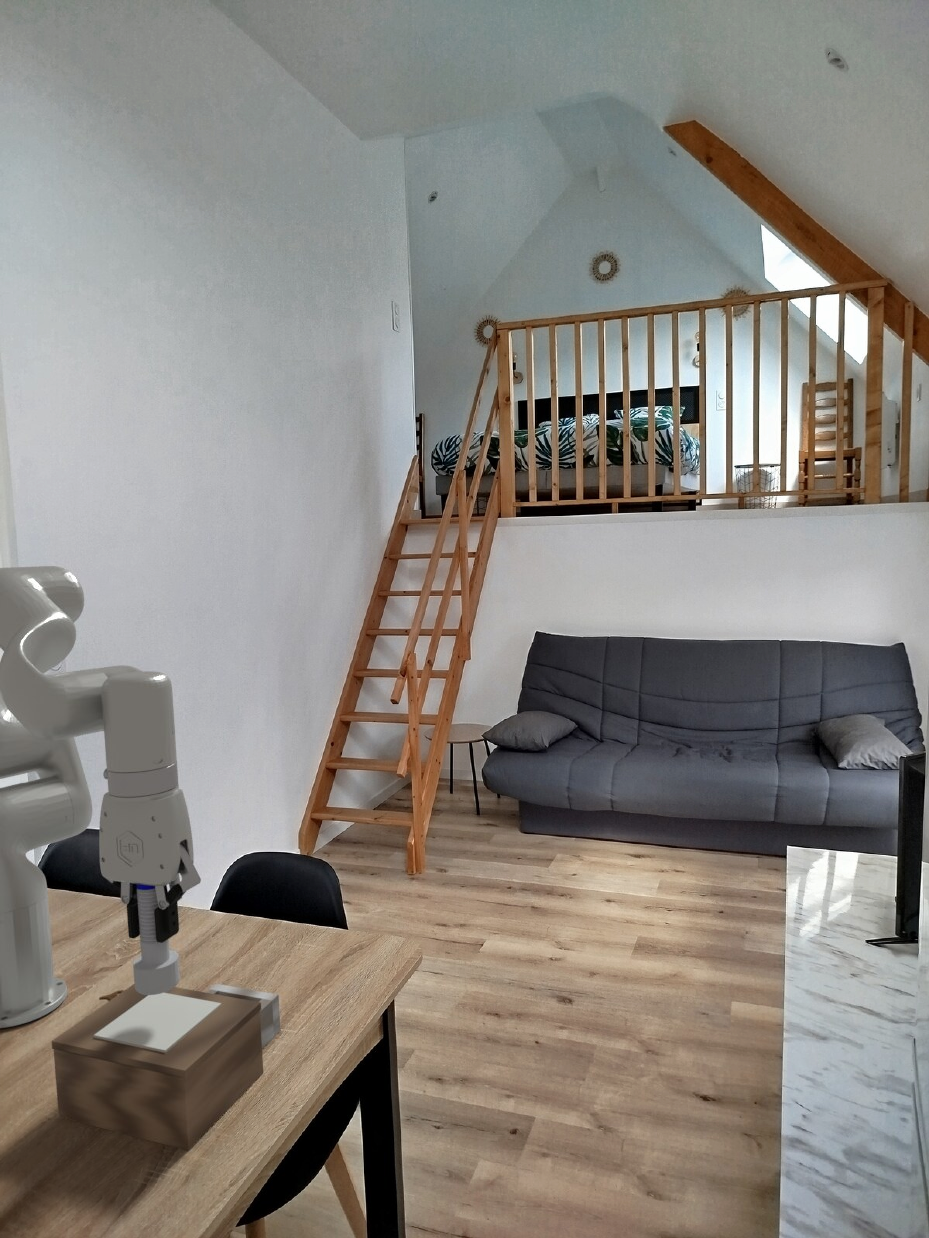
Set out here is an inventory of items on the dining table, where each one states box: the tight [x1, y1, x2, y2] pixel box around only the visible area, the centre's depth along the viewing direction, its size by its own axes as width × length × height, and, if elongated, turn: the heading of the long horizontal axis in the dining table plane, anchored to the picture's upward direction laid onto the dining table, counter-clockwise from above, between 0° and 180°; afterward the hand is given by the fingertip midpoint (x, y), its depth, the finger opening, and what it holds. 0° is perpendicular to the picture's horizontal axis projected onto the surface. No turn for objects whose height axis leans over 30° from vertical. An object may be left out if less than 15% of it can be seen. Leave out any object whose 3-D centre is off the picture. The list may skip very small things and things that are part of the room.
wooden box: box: [51, 983, 281, 1151], centre depth 103 cm, size 18×22×9 cm
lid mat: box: [94, 993, 222, 1053], centre depth 99 cm, size 10×10×1 cm
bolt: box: [132, 884, 181, 995], centre depth 98 cm, size 16×5×5 cm
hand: (154, 933), depth 98 cm, fingers closed on bolt, 3 cm apart
